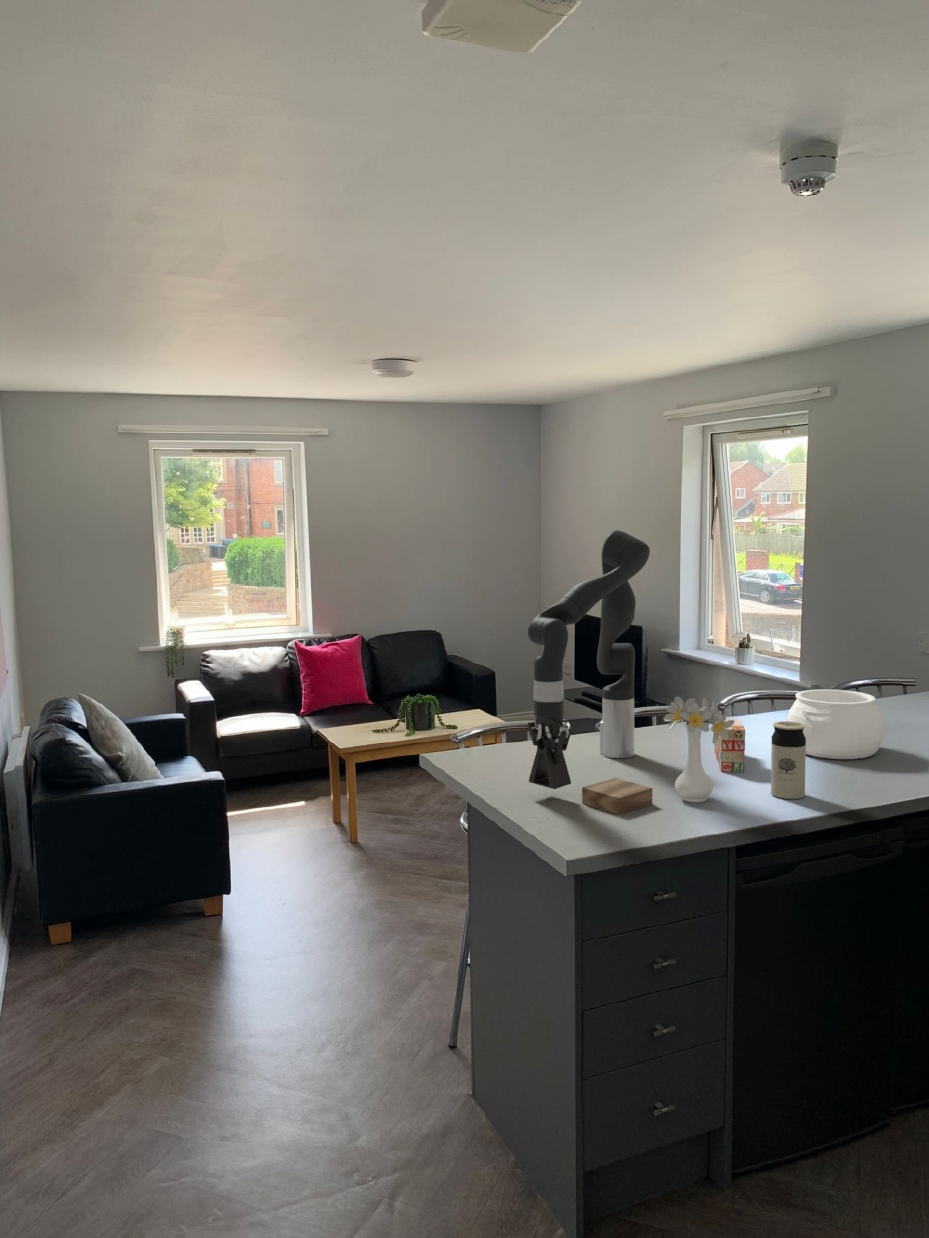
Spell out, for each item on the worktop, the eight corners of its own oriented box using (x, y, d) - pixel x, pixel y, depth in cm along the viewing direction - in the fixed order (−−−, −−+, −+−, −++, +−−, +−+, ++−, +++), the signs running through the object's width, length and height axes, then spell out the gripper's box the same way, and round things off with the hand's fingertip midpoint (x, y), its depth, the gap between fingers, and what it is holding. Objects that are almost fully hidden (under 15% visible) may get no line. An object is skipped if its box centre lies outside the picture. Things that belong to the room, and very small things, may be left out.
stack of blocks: (713, 752, 269) (714, 711, 268) (735, 753, 268) (736, 712, 266) (721, 772, 248) (721, 728, 247) (744, 773, 247) (745, 728, 246)
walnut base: (582, 803, 224) (582, 787, 223) (615, 793, 231) (615, 777, 231) (619, 814, 214) (619, 798, 214) (652, 804, 222) (652, 788, 221)
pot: (854, 768, 248) (856, 709, 246) (767, 751, 268) (767, 697, 266) (900, 749, 267) (902, 694, 265) (815, 735, 287) (816, 684, 285)
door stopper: (528, 782, 229) (527, 735, 228) (544, 777, 233) (544, 731, 232) (555, 789, 223) (554, 741, 221) (571, 784, 227) (570, 737, 225)
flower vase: (714, 813, 213) (715, 709, 211) (650, 797, 227) (650, 698, 224) (744, 801, 222) (745, 700, 219) (681, 786, 236) (681, 691, 233)
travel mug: (777, 788, 232) (778, 719, 230) (809, 793, 227) (810, 723, 225) (766, 796, 226) (766, 725, 224) (798, 802, 221) (799, 729, 219)
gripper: (518, 695, 229) (519, 762, 231) (557, 704, 218) (558, 774, 220) (540, 691, 233) (541, 756, 235) (579, 699, 222) (580, 768, 224)
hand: (549, 764), depth 227 cm, fingers closed on door stopper, 3 cm apart
